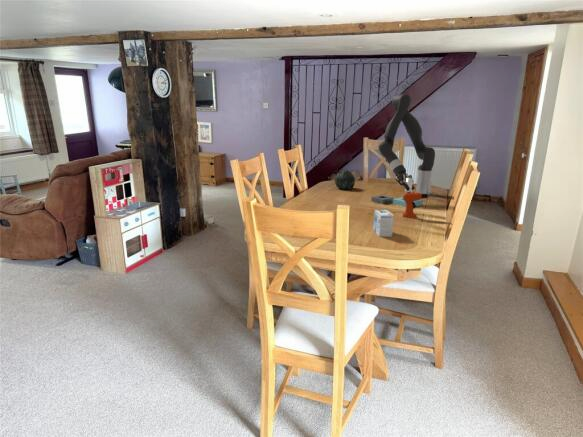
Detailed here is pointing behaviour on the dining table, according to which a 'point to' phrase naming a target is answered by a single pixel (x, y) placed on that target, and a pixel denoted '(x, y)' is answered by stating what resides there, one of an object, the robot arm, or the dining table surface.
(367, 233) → the dining table surface
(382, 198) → the socket block
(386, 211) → the light bulb box
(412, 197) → the toy drill
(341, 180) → the squash
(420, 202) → the block
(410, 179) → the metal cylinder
